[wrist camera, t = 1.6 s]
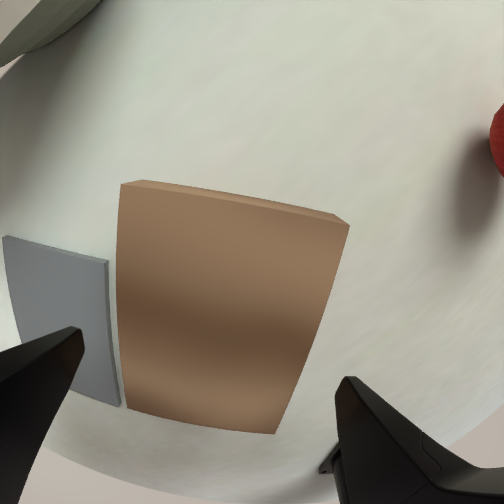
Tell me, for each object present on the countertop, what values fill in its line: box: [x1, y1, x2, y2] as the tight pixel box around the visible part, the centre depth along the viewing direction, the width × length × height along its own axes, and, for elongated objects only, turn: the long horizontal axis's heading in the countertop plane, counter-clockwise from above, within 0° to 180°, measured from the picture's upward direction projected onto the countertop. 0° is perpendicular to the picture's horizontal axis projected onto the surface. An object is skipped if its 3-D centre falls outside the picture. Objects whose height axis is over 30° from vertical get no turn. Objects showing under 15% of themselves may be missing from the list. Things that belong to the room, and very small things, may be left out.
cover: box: [116, 180, 350, 434], centre depth 10 cm, size 10×7×2 cm
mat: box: [2, 236, 121, 407], centre depth 15 cm, size 12×9×1 cm
